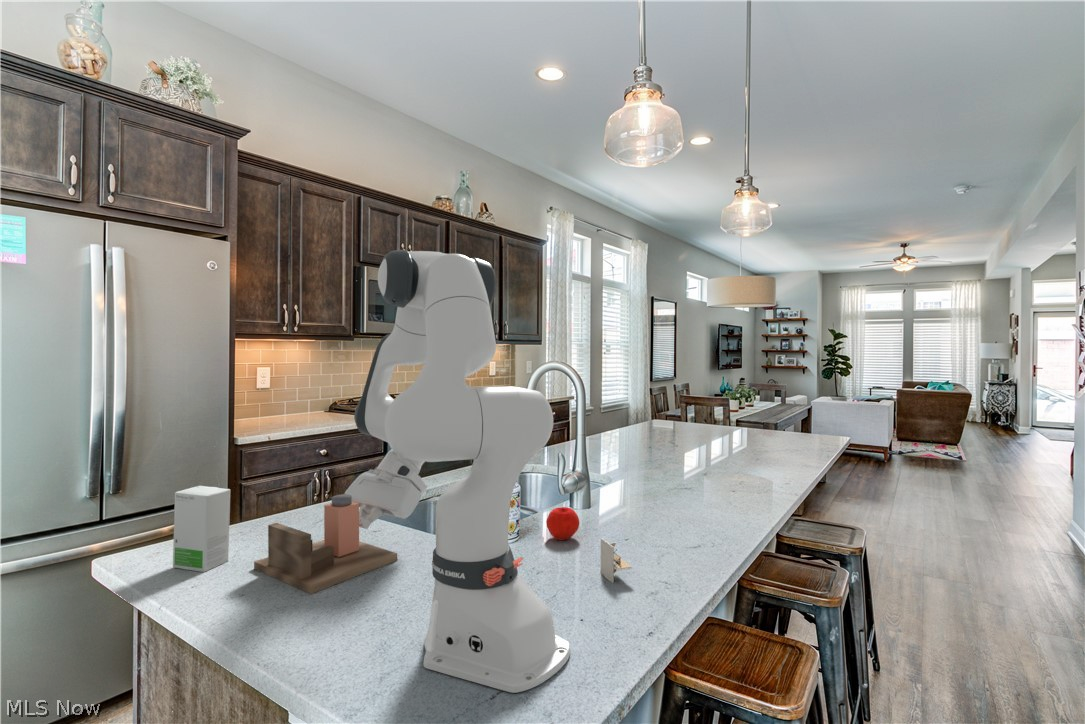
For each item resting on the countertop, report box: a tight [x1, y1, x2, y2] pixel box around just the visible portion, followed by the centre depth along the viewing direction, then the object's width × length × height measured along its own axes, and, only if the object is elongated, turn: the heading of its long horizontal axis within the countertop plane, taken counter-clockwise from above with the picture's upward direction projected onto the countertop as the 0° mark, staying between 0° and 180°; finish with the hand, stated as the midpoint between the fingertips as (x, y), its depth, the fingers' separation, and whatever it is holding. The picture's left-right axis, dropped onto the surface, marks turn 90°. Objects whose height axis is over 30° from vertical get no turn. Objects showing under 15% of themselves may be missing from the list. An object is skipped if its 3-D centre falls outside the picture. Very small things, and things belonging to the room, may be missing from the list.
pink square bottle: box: [323, 494, 360, 557], centre depth 118 cm, size 5×5×12 cm
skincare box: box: [172, 485, 231, 573], centre depth 114 cm, size 8×7×16 cm
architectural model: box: [600, 537, 633, 584], centre depth 109 cm, size 3×7×7 cm, turn 19°
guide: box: [253, 522, 398, 595], centre depth 115 cm, size 20×20×10 cm
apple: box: [545, 506, 580, 541], centre depth 131 cm, size 8×8×7 cm
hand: (360, 526), depth 121 cm, fingers closed
